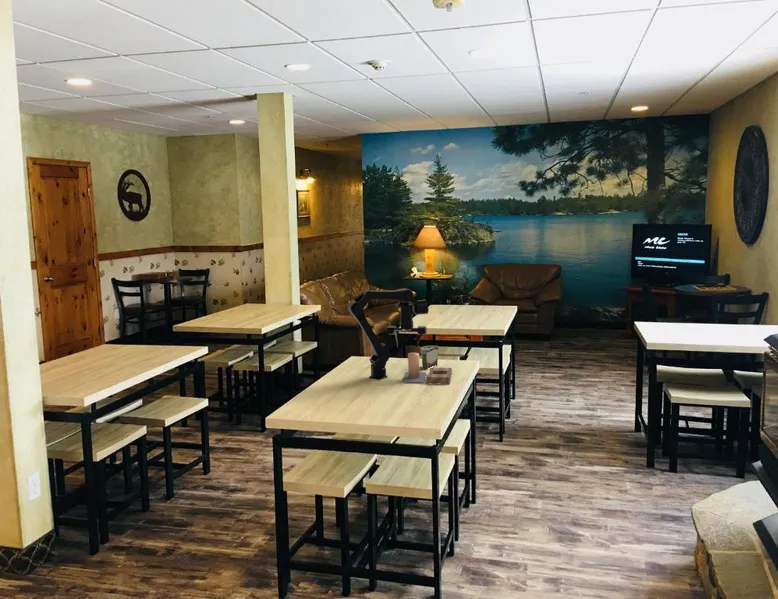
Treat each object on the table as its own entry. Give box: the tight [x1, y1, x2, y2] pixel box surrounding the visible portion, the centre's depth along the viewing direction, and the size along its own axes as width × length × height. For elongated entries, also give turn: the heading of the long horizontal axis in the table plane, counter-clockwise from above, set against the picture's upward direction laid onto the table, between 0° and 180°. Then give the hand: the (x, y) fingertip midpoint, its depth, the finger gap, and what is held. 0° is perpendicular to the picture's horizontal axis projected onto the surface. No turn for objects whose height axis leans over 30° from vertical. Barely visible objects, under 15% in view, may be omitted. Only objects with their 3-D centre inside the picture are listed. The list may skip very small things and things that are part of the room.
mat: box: [401, 371, 427, 384], centre depth 308 cm, size 10×18×1 cm, turn 172°
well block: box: [427, 367, 453, 385], centre depth 306 cm, size 10×18×3 cm, turn 172°
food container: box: [419, 345, 440, 370], centre depth 329 cm, size 12×6×10 cm, turn 144°
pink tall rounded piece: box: [407, 352, 420, 378], centre depth 307 cm, size 5×5×11 cm
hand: (406, 347), depth 313 cm, fingers open, 9 cm apart
